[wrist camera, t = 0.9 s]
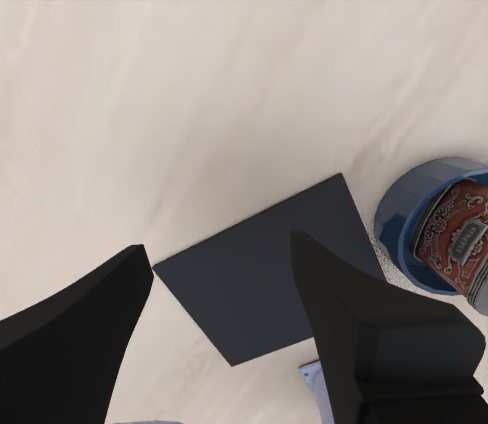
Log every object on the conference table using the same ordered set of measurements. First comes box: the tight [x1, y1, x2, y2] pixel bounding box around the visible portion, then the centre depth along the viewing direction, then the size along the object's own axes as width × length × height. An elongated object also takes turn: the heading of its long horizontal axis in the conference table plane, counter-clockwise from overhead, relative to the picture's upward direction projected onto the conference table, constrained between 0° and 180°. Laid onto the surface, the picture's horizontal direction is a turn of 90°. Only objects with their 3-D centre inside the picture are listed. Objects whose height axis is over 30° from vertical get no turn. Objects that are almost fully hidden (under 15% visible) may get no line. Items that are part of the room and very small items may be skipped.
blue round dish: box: [374, 157, 488, 296], centre depth 20 cm, size 11×11×4 cm
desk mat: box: [152, 173, 387, 367], centre depth 25 cm, size 16×20×1 cm
